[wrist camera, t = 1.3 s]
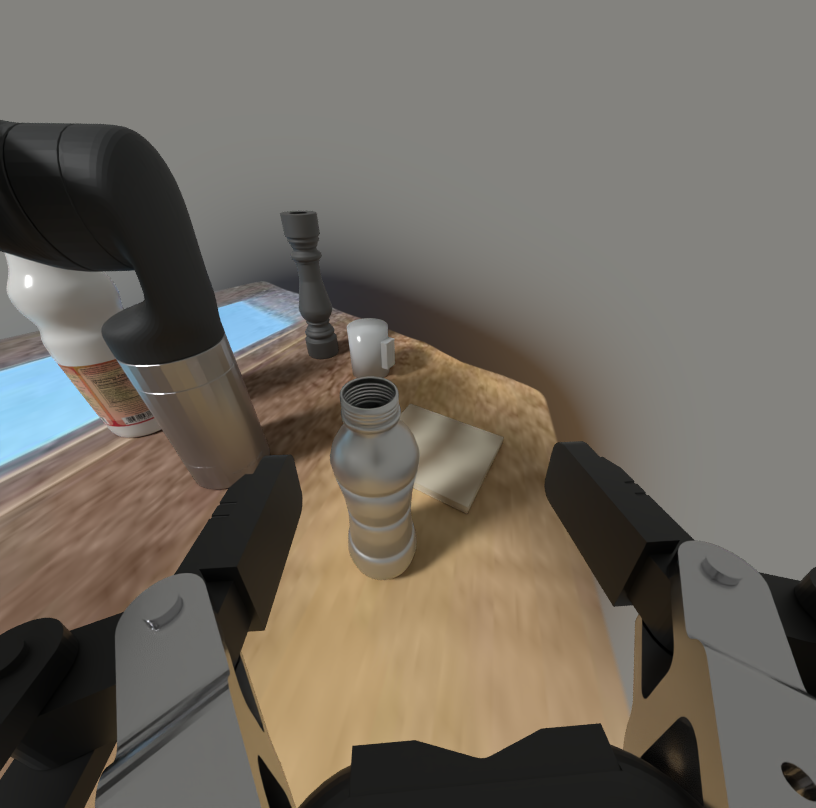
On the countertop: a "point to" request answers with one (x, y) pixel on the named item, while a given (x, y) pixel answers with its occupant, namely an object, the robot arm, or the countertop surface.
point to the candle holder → (310, 282)
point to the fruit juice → (80, 337)
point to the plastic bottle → (376, 476)
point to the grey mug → (370, 348)
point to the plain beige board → (450, 456)
